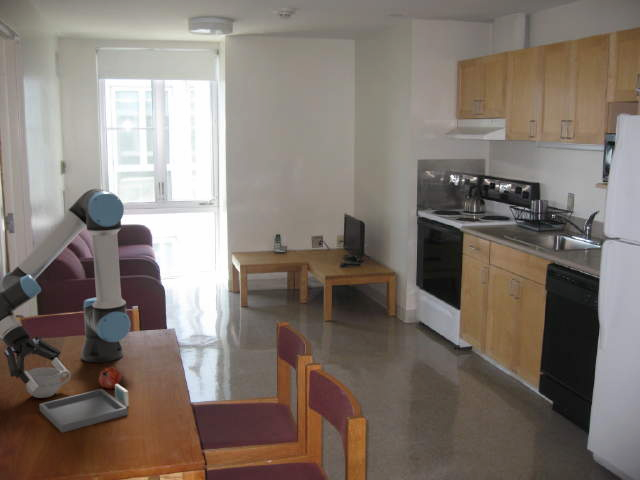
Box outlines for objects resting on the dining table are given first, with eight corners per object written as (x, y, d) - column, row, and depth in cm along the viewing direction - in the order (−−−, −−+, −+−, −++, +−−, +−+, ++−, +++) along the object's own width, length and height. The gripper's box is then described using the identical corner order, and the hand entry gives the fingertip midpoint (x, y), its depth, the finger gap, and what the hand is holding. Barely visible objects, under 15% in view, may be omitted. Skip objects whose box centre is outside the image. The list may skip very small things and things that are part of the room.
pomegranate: (107, 388, 239) (88, 379, 231) (117, 369, 241) (99, 359, 233) (121, 395, 235) (102, 386, 227) (132, 376, 237) (113, 366, 229)
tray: (102, 394, 228) (101, 388, 227) (127, 414, 212) (127, 407, 212) (39, 410, 215) (39, 403, 215) (62, 432, 200) (61, 425, 199)
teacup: (25, 401, 219) (26, 377, 218) (24, 389, 229) (25, 366, 228) (71, 399, 225) (73, 376, 224) (68, 387, 235) (70, 364, 234)
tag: (118, 398, 225) (117, 383, 224) (128, 406, 219) (128, 391, 218) (114, 399, 224) (113, 384, 223) (124, 407, 218) (124, 392, 217)
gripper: (34, 328, 241) (71, 375, 239) (-25, 350, 218) (16, 402, 216) (45, 315, 239) (83, 362, 236) (-13, 336, 216) (28, 388, 213)
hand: (51, 381), depth 226 cm, fingers open, 13 cm apart
